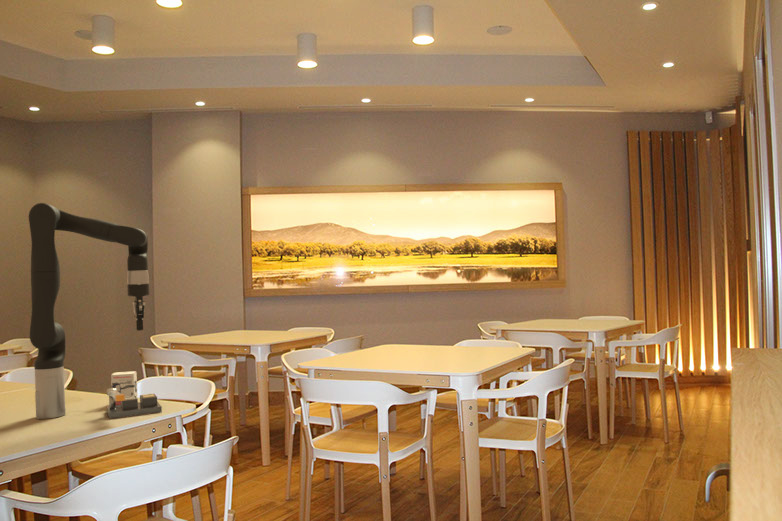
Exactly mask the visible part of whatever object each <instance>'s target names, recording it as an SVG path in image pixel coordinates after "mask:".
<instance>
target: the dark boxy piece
mask: <svg viewBox="0 0 782 521" xmlns="http://www.w3.org/2000/svg"><path fill="white" fill-rule="evenodd" d="M138 400H139V401H138ZM108 403H109V405H107V406H106V413H107V416H108V419H109V420H111V419H112V420H113V419H120V418H127V416H128V417H134V416H135V415H136V416H141V415H150V414H156V413H157V414H158V413H162V412H163V411H162V410H163V409H162V407H163V406H162V405H161V404H160V402H158V396H157V395H156V394H155V393H146V394H141V395H139V399H137V398H136V396H127V397H125V400H124V401H121V405H116V404H115V399H114V398H113V397H112V396H108Z"/></svg>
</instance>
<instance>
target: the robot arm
mask: <svg viewBox="0 0 782 521" xmlns="http://www.w3.org/2000/svg"><path fill="white" fill-rule="evenodd" d="M28 222H29V223H28V224H29V229H30V237H31V238H30V240H31V251H30V287H31V288H30V289H31V291H30V292H31V293H30V294H31V316H30V328H29V341H30V342H31V343H30V344H31V345H32V346H33V347H34V348H36V349H38V354H37V356H36V358H35V360H34V363H33V364H34V366H33V367H34V385H35V386H34V390H35V391H34V394H35V395H34V398H35V419H36V420H40V419H41V420H43V419H45V420H46V419H53V418H59V417H63V416H65V415H66V410H67V409H66V395H65V394H66V392H65V389H66V388H65V369H64V366H65V365H64V362H65V358H66V333H65V330H64V327H63V325H62V324H60V323H59V322H56V321H55V307H56V306H55V305H56V302H57V299H58V294H59V291H60V287H61V267H60V261H59V257H58V253H57V249H56V244H55V237H56V236H55V233H56V231H63V232H64V231H65V232H69V233H74V234H77V235H78V234H79V235H81V236H85V237H88V238H93V239H96V240H101V241H104V242H110V243H116V244H120V245H124V246H127V247H128V256H127V261H126V264H127V265H126V266H127V274H126V280H127V282H126V285H127V286H126V287H127V296H128V297H134V301H132V307H133V313H134V318H135V326H136V327H135V328H136V329H135V330H136V331H143V330H144V319H145V312H146V311H145V307H146V301H145V300H144V296H145V297H146V296H147V297H148V296H150V276H149V275H150V274H149V264H148V263H149V262H148V248H149V247H148V246H149V244H148V242H149V239H148V235H147V233H146V232H145V231H144V230H143V229H140V228H137V227H133V226H129V225H128V226H127V225H120V224H118V223H115V222H111V221H107V220H102V219H98V218H91V217H84V216H80V215H75V214H72V213H68V212H66V211H64V210H61V209H59V208H57V207H56V206H53V205H52V204H49V203H46V202H40V203H36V204H34V205H33V206H32V207H31V208H30V210H29V213H28Z"/></svg>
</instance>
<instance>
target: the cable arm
mask: <svg viewBox="0 0 782 521" xmlns="http://www.w3.org/2000/svg"><path fill="white" fill-rule="evenodd" d="M106 396H107V397H109V396H112V397H113V398H114V399H115V401H124V400H125V395H124V394H121V393H119V392H118V391H117V388H111V387H110V388H107V389H106Z"/></svg>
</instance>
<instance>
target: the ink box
mask: <svg viewBox="0 0 782 521" xmlns="http://www.w3.org/2000/svg"><path fill="white" fill-rule="evenodd" d="M137 376H138V374H137V371H134V370H133V371H120V372H119V371H118V372H116V371H115V372H113V373H112V374H111V375H110V389H111V388H117V391H118V392H119V393H121V394H124V395H125V397H127V396H136V398H137V399H138V398H139V397H138V378H137ZM138 400H139V399H138ZM115 404H116V405H121V401H115Z"/></svg>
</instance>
